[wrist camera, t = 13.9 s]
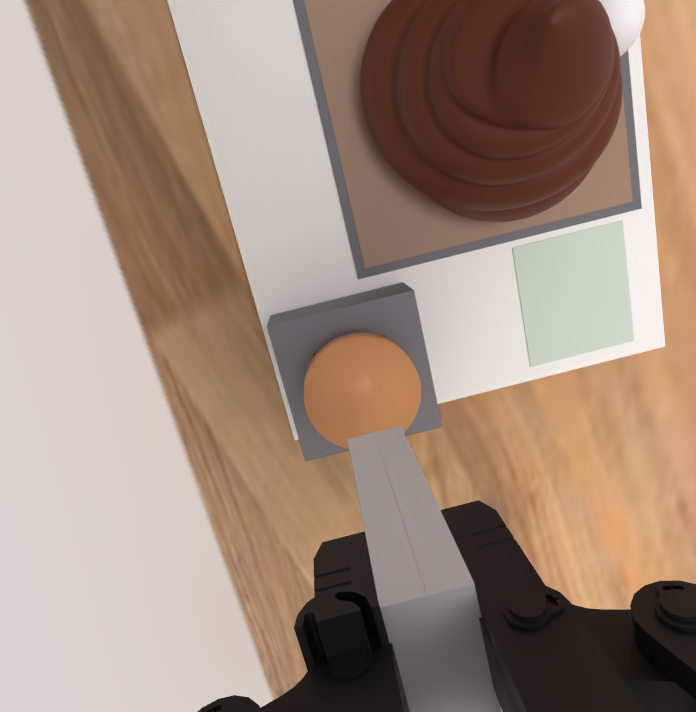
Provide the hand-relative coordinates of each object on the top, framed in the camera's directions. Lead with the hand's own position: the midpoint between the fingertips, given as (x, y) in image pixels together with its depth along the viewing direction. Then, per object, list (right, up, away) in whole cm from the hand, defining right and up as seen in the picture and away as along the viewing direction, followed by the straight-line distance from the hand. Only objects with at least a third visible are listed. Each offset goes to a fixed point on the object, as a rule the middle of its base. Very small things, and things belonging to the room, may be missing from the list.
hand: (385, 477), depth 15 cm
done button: (-1, +3, +9) cm, 9 cm away
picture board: (+3, +11, +9) cm, 15 cm away
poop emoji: (+4, +14, +7) cm, 16 cm away
